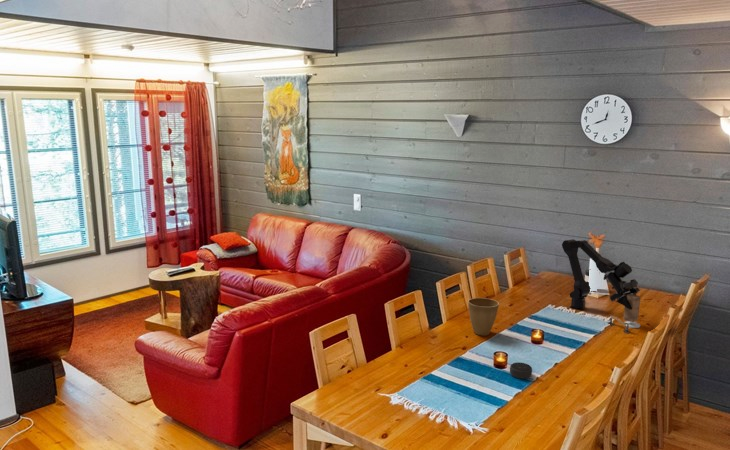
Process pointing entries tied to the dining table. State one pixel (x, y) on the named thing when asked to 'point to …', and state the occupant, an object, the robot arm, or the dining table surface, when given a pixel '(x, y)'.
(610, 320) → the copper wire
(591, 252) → the robot arm
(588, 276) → the jar
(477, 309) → the plant pot
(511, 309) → the dining table surface
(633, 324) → the pad
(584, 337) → the dining table surface
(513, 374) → the smart speaker
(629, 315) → the taupe upright block
